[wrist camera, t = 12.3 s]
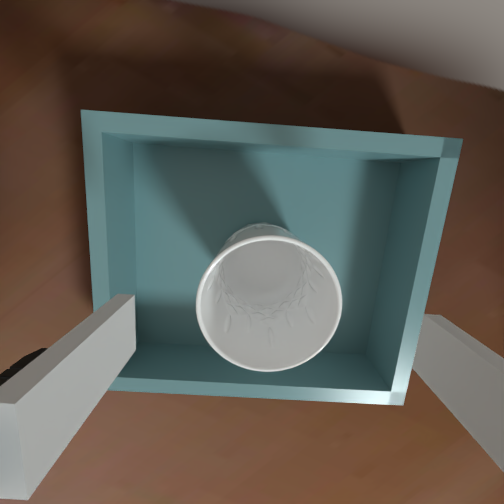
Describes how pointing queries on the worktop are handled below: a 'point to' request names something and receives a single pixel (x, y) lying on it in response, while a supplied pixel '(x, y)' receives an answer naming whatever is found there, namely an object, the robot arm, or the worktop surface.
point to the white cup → (268, 299)
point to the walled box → (277, 213)
